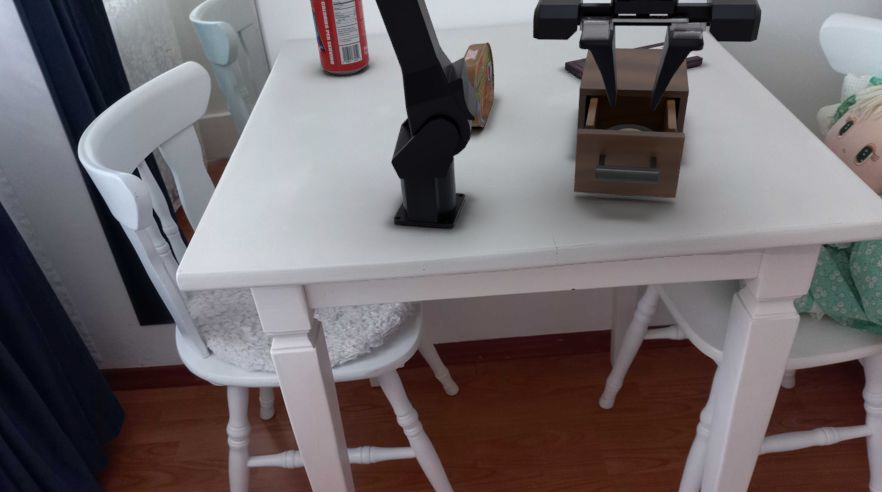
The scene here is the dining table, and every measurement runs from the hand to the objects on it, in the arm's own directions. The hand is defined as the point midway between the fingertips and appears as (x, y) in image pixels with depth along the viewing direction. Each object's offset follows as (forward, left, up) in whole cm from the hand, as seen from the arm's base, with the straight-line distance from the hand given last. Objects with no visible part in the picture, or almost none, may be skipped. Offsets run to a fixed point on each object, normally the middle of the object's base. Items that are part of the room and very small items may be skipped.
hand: (632, 107), depth 67 cm
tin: (+22, +20, -11) cm, 32 cm away
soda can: (+38, +45, -11) cm, 60 cm away
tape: (+6, 0, -9) cm, 11 cm away
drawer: (+5, 0, -10) cm, 11 cm away
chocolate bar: (+41, 0, -11) cm, 43 cm away
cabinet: (+17, 0, -11) cm, 21 cm away
